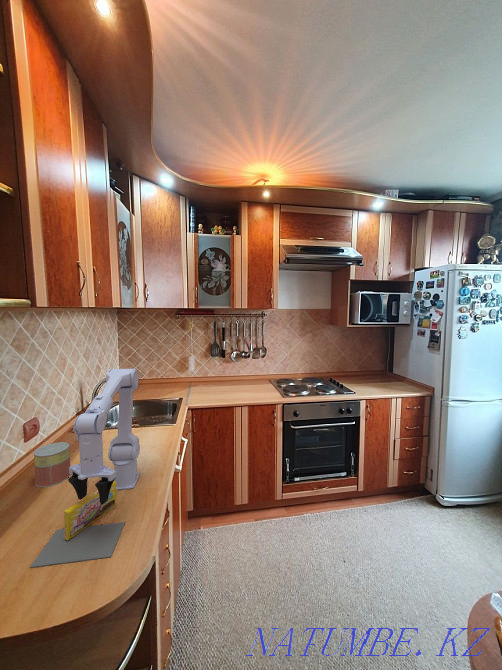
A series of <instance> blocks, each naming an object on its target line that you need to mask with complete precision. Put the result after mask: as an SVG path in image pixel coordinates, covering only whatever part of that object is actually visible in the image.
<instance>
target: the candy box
mask: <svg viewBox="0 0 502 670" xmlns="http://www.w3.org/2000/svg"><path fill="white" fill-rule="evenodd" d="M116 506H117V490H116V482H115V480H114V482H113V484H112V486H111V489H110V493H109V497H108V500H107V501H106V502H105V503H104V504H100V499H99V492H98V489H97V490H96V491H94V492H92V493H91V494H89V495H87V496H85V497H84V498H83V499H81V500H79V501H78V502H76V503H75V504H72V505H71V506H70V507H68V508H67V509H64V510H63V512H64V513H63V514H64V515H63V519H64V521H63V523H64V524H63V529H64V539H65V540H69V539H71V538H72V537H73V536H75V535H76V534H78V533H79V532H80V531H82V530H83V529H84V528H86V527H87V526H91V525H92V524H93V523H95V521H97V520H98V519H100V518H101V517H103V516H104V515H105V514H107V513H108V512H110V510H112V509H114V508H115V507H116Z"/></svg>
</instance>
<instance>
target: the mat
mask: <svg viewBox="0 0 502 670" xmlns="http://www.w3.org/2000/svg"><path fill="white" fill-rule="evenodd" d="M125 523H126V521H120V522H113V523H104V524H95V525H89V526H87V527H86V528H84V529H83V530H82V531H80V532H79V533H78V534H76V535H75V536H73V537H72V538H71V539H69V540H65V539H64V528H61V529H56V530H55V531H54V533H53V534H52V536H51V537H50V539H49V540H48V541H47V543H46V544H45V545H44V547H43V548H42V550H41V551H40V552H39V554H37V556H36V558H35V560H33V562H32V564H31V565H29V569H34V568H40V567H41V568H42V567H49V566H50V567H51V566H55V565H63V564H71V563H79V562H87V561H95V560H100V559H108V558H112V556H113V553H114V551H115V548H116V546H117V544H118V543H119V539H120V536H121V534H122V531H123V529H124V526H125Z"/></svg>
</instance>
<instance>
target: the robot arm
mask: <svg viewBox="0 0 502 670" xmlns="http://www.w3.org/2000/svg"><path fill="white" fill-rule="evenodd" d="M138 386H139V373H138V369H136V368H135V367H134V368H109V369H108V370H107V371H106V374H105V385H104V387H103V389H102V392H101V393H100V394H97V395H96V396H94V398H93V399H92V401H91V402H90V404H89V406H88V407H87V409H85V411H84V413H81V414H79V415H77V417H76V418H75V420H74V423H73V428H72V429H73V432H74V434H75V436H76V441H77V442H78V445H79V446H78V447H79V449H78V450H79V464H77V463H75V464H73V465H70V467H69V474H71V475H70V477H69V478H68V479H67V481H68V483H70V485H71V486H72V487H73V489H74V491H75V493H76V495H77V499H78V500H79V501H81V500H83V499H84V498H86V497H87V496H88V495H87V494H88V480H89V479H92V478H94V479H95V478H99V479H100V480H98V481H97V482H96V483H94V485H95V487H96V489H97V490H98V492H99V499H100V504H104V503H105V502H106V501H107V500H108V497H109V493H110V489H111V486H112V484H113V482H114V481H115V482H116V491H117V490H126V489H127V490H128V489H129V490H130V489H134V488H135V486H136V484H137V482H138V479H139V477H140V475H141V473H140V472H138V458H139V456H140V452H141V445H140V439H139V437H138V436H137V435H135V434H134V433H133V431H132V430H133V412H134V411H133V409H134V408H133V407H134V406H133V405H134V391H135V390H138V388H139V387H138ZM117 393H118V395H119V397H118V415H117V416H118V419H117V435H116V436H115V437H113V438H112V439H111V441H110V442H109V448H108V453H107V457H108V459H109V462H111V464H113V466H114V467H113V468H114V469H111V468H110V467H108V466H107V465H105V464H104V448H103V444H104V443H103V442H104V440H103V432H104V431H105V428H106V425H107V420H108V414H109V412H110V410H111V409H112V407H113V404H114V400H113V398H114V397H115V395H116V394H117Z"/></svg>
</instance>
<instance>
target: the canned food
mask: <svg viewBox="0 0 502 670" xmlns="http://www.w3.org/2000/svg"><path fill="white" fill-rule="evenodd" d="M70 445H71V444H70V443H68V442H67V441H66V442H65V441H59V442H53V443H52V442H51V443H48V444H46V445H42V446H40V447H39V448H37V449H35V451H33V461H34V463H33V464H34V478H35V479H34V482H35V483H34V485H35V486H36V487H38V488H47V487H53V486H56V485H59V484H61V483H63V482H65V481H66V480H68V479H69V478H70V477H71V476H72V474H69V467H71V453H70V451H71V450H70ZM69 476H70V477H69ZM68 477H69V478H68ZM67 478H68V479H67Z"/></svg>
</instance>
